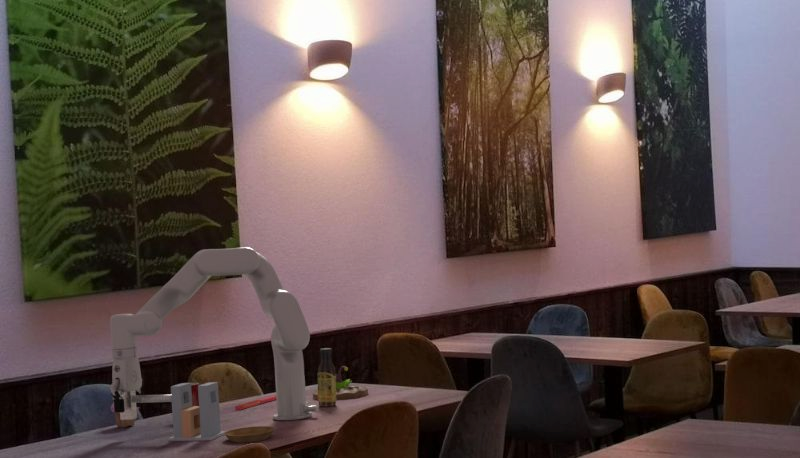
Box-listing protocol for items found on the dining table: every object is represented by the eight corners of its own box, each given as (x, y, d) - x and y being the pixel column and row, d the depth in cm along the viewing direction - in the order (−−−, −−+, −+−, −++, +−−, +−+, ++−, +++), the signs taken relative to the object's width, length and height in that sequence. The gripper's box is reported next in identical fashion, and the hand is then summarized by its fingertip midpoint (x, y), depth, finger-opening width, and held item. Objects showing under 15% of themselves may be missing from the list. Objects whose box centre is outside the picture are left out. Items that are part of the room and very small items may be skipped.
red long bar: (232, 413, 379) (242, 409, 377) (230, 407, 380) (240, 403, 378) (271, 402, 401) (280, 398, 399) (269, 397, 401) (279, 393, 399)
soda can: (198, 420, 360) (195, 384, 360) (179, 421, 361) (176, 385, 361) (205, 417, 366) (203, 381, 367) (187, 418, 368) (184, 382, 368)
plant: (362, 399, 387) (360, 368, 387) (309, 402, 390) (307, 371, 390) (371, 391, 407) (369, 361, 407) (320, 394, 409) (318, 364, 410)
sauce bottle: (315, 407, 373) (311, 349, 373) (323, 404, 379) (319, 347, 379) (332, 407, 371) (328, 349, 371) (340, 404, 376) (336, 347, 377)
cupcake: (131, 423, 363) (129, 393, 364) (145, 425, 357) (143, 395, 357) (107, 427, 357) (105, 397, 357) (121, 429, 351) (119, 399, 351)
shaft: (186, 416, 329) (185, 387, 330) (182, 418, 327) (180, 388, 327) (125, 418, 335) (123, 388, 335) (120, 419, 332) (118, 390, 333)
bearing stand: (225, 434, 330) (222, 381, 330) (211, 440, 320) (208, 386, 320) (184, 434, 334) (181, 382, 334) (168, 440, 324) (165, 387, 324)
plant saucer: (231, 446, 309) (231, 437, 309) (219, 439, 323) (218, 430, 323) (281, 439, 315) (280, 430, 315) (267, 432, 329) (266, 424, 329)
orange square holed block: (204, 432, 331) (202, 406, 331) (191, 437, 323) (189, 410, 323) (195, 432, 332) (194, 406, 332) (182, 437, 324) (181, 410, 324)
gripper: (120, 357, 324) (124, 414, 324) (149, 350, 341) (152, 404, 341) (98, 357, 326) (102, 414, 326) (128, 351, 343) (131, 405, 343)
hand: (128, 409), depth 333 cm, fingers open, 9 cm apart
